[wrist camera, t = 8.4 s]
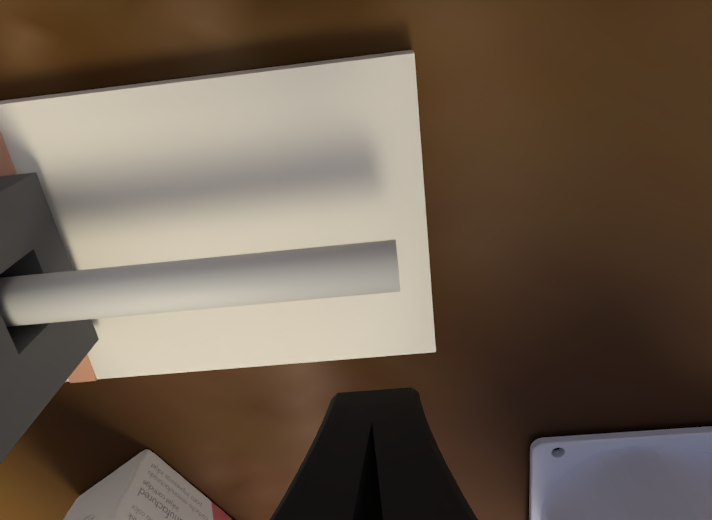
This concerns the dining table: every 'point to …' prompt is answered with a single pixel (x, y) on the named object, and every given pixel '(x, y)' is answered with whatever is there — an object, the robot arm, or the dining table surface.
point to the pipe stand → (231, 217)
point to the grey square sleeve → (36, 341)
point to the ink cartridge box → (144, 495)
